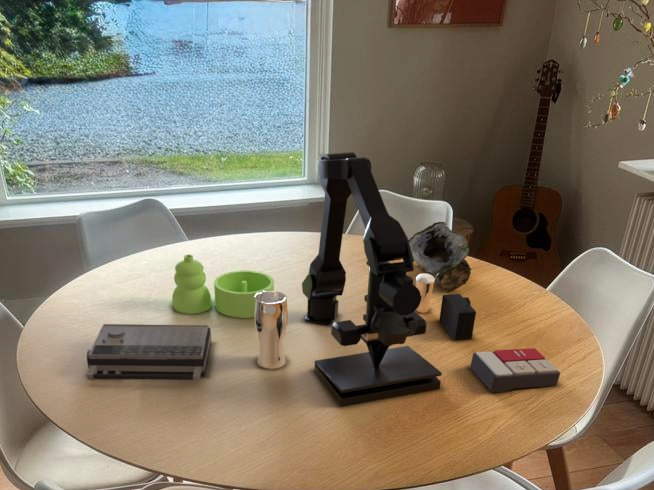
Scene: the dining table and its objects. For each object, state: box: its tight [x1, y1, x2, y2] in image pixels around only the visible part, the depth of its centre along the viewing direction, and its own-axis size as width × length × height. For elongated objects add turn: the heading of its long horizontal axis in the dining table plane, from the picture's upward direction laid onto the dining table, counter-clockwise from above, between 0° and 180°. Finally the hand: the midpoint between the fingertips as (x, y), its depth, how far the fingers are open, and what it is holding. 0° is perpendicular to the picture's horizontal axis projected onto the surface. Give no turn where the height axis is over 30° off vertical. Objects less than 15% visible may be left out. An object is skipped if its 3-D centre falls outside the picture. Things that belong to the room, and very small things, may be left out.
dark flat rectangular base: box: [313, 364, 442, 408], centre depth 151 cm, size 15×22×2 cm
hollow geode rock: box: [408, 221, 473, 293], centre depth 194 cm, size 28×13×15 cm
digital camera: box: [438, 293, 477, 341], centre depth 170 cm, size 10×5×7 cm, turn 12°
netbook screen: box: [314, 345, 443, 393], centre depth 150 cm, size 15×22×1 cm
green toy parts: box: [171, 254, 275, 319], centre depth 177 cm, size 25×15×13 cm, turn 93°
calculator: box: [469, 347, 561, 393], centre depth 153 cm, size 11×4×15 cm
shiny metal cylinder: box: [415, 273, 439, 314], centre depth 178 cm, size 5×5×10 cm
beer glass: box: [253, 290, 289, 370], centre depth 153 cm, size 7×7×15 cm
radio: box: [86, 323, 212, 382], centre depth 155 cm, size 24×5×20 cm
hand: (376, 365), depth 150 cm, fingers closed, pressing on netbook screen
